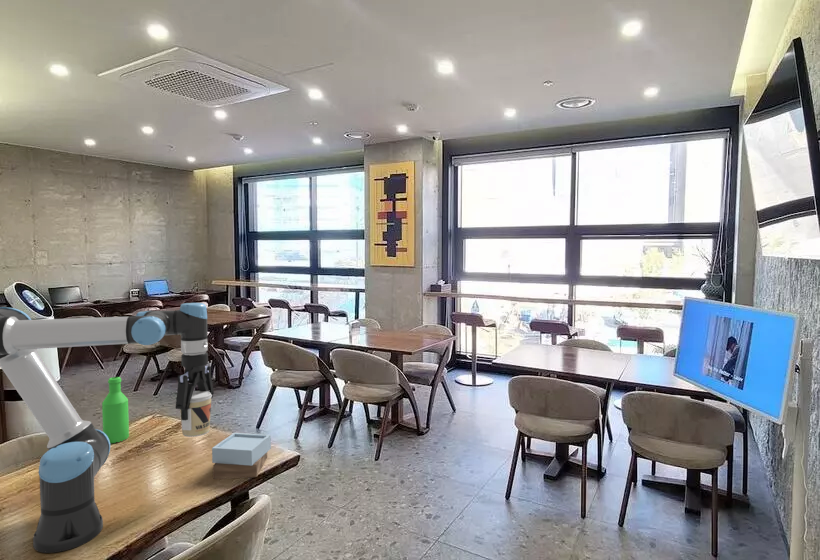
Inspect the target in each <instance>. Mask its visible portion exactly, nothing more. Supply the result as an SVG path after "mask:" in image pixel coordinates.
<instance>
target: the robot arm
mask: <svg viewBox="0 0 820 560" xmlns="http://www.w3.org/2000/svg"><path fill="white" fill-rule="evenodd" d="M176 335H177V336H178V335H180V352H181V353H182V354H181V356H180V357H181V366H182V367H183V368H184V372H183V373H184V374H179V375H178V376H177V390H176V391H177V392H176V399H175V400H176V401H175V409H177V410H180V409H181V413H180V421H181V420H182V424H181V431H182V430H192V428H191V408H189V406H190V401H191V398H192V394H193V391H195V387H196V386H197V388H198V391H209V392H210V393H211V395H212V397H211V400H212V399H213V398H214V393H215V391H214V386H213V377H212V366H211V365H210V366H209V365H208V364H209V353H208V347H209V346H208V344H209V343H208V311H207V305H206V304H205V303H203V302H186V303H185V302H184V303H181V304H180V308H179V309H177V310H146V311H138V312H137V313H136V315H133V316H108V317H107V316H105V317H104V316H103V317H77V318H48V319H46V318H45V319H31V317H30V315H28V314H27V313H26V312H24V311H22V310H21V309H18V308H13V307H5V306H4V307H3V306H1V307H0V368H1V370H2V371H3V373H4V374H5V376H6V378H7V379H8V380H9V381H10V383H11V384H12V386H13V387H14V389H15V390H16V391H17V393H18V395H19V396H20V398H22V401H23V402H24V403H25V404H26V407H27V408H28V410H29V411H30V412H31V414H32V415H33V417H34V419H36V421H37V422H38V424H39V425H40V427H41V428H42V430H43V431H44V433H45V434H46V435H47V437H48V442H47V445H46V448H47V449H48V450H47V451H46V452H45V453H43V455H41V457H40V460H39V466H38V476H39V495H40V496H39V497H40V516H39V519H38V523H37V527H36V529H35V530H36V531H35V532H34V534H33V538H32V542H33V543H32V545H33V549H34V550H35V551H37V552H39V553H44V554H45V553H46V554H48V553H49V554H52V553H60V552H64V551H69V550H72V549H75V548H78V547H80V546H82V545H84V544H87V543H88V542H90V541H92V540H94V538H96V537H97V536H98V535H99V534H100V533H101V531H102V530H103V528H104V522H103V521H104V519H103V516H102V515H101V513H100V510H99V507H98V506H97V503H96V500H95V477H96V475H97V474H98V472H99V471H100V469H101V468H102V466H104V465H105V463H106V462H107V460H108V457H109V454H110V451H111V443H110V440H109V438H108V436H107V435H106V434H105V433H104V432H103V430H101V429H96V427H95V426H94V425H93V423H92V421H91V420H90V421H89V420H83V419H82V418H81V417H80V415H79V413H78V411H77V410H76V408H75V407H74V406H73V404H72V403H71V401H70V400H69V397H67V395H66V394H65V392H64V390H63V389H62V387H61V386H60V384H59V383H58V381H57V380H56V379H55V376H54V375H53V374H52V372H51V371H50V369H49V368H48V366H47V364H46V363H45V362H44V360H43V359H42V357H41V355H40V354H39V353H38V351H37V349H39V350H40V349H55V348H56V349H57V348H59V349H60V348H74V347H90V346H92V347H93V346H94V347H95V346H108V345H109V346H110V345H126V344H127V345H128V344H129V345H130V344H133V345H134V344H136V345H137V344H139V345H142V346H150V345H154V344H156V343H158V342H160V341H161V340H162V339H163V338H164V336H176Z"/></svg>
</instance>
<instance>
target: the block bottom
mask: <svg viewBox="0 0 820 560" xmlns="http://www.w3.org/2000/svg"><path fill="white" fill-rule="evenodd" d="M267 459H268V452H267V453H265V454H264V455H263V456H262V457H261V458H260V459H259V460H258V461H256V462H255V463H254V464H253V465H252V466H250V465H236V464H222V463H213V465H212V468H213V469H212V470H213V472H212V473H213V475H212V476H213V478H212V479H213V480H220V479H221V480H222V479H224V480H225V479H242V478H243V479H244V478H245V479H246V478H257V477H258V475H259V474H260V473H261V470H262V469H263V466H264V465H265V463H266V461H267Z"/></svg>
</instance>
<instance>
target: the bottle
mask: <svg viewBox="0 0 820 560" xmlns="http://www.w3.org/2000/svg"><path fill="white" fill-rule="evenodd" d="M121 382H122V378H121V377H120V376H113V377H110V378H108V381H107V384H108V390H109V391H108V393H107V395H106V397H105V398H104V400H103V401H102V403H101V406H102V407H101V409H102V411H101V412H102V414H101V415H102V416H101V417H102V432H104V433H105V434H106V435H107V436H108V438H109V440H110V444H117V443H116V442H118V443H120V441H121V442H123V440H124V441H125V439H126V440H127V439H128V438H130V424H129V423H130V422H129V420H130V419H129V398H128V397H127V396H126V395H125V394H124V393H123V392H122V390H121V389H122V388H121V387H122V385H121Z"/></svg>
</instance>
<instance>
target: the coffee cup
mask: <svg viewBox="0 0 820 560" xmlns="http://www.w3.org/2000/svg"><path fill="white" fill-rule="evenodd" d="M209 391H210V390H209ZM209 391H199V390H193V394H192V398H191V401H190V406H189V408H191V428H192V430H182V429H181V432H182V435H183V436H184V437H189V438H192V437H193V438H195V437H201V436H205V435H206V434H208V433H210V429H211V428H210V427H211V426H210V425H211V414H212V413H211V411H212V399H211V397H212V396H213V395H211V393H210V392H209ZM179 411H180V414H181V409H179ZM180 422H181V425H182V420H181V419H180Z"/></svg>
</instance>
